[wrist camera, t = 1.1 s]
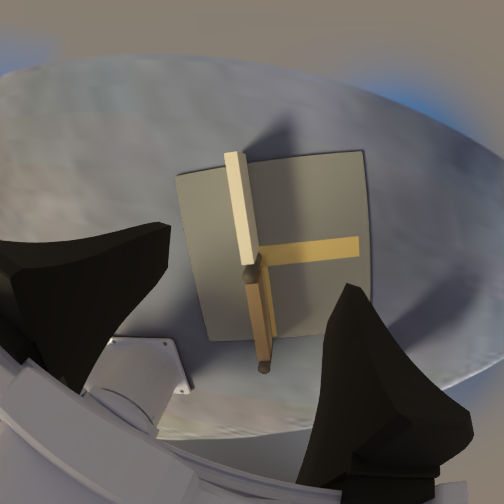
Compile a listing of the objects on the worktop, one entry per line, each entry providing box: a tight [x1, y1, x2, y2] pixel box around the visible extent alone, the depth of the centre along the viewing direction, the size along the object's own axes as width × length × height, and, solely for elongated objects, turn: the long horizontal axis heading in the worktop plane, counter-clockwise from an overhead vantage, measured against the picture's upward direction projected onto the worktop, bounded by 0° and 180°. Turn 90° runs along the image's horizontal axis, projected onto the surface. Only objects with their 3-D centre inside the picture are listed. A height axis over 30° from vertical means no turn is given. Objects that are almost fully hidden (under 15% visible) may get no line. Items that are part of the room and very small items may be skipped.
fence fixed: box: [242, 252, 273, 374], centre depth 24 cm, size 1×10×5 cm, turn 9°
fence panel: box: [224, 151, 259, 265], centre depth 22 cm, size 8×1×4 cm, turn 9°
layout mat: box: [175, 151, 370, 341], centre depth 25 cm, size 16×16×1 cm
